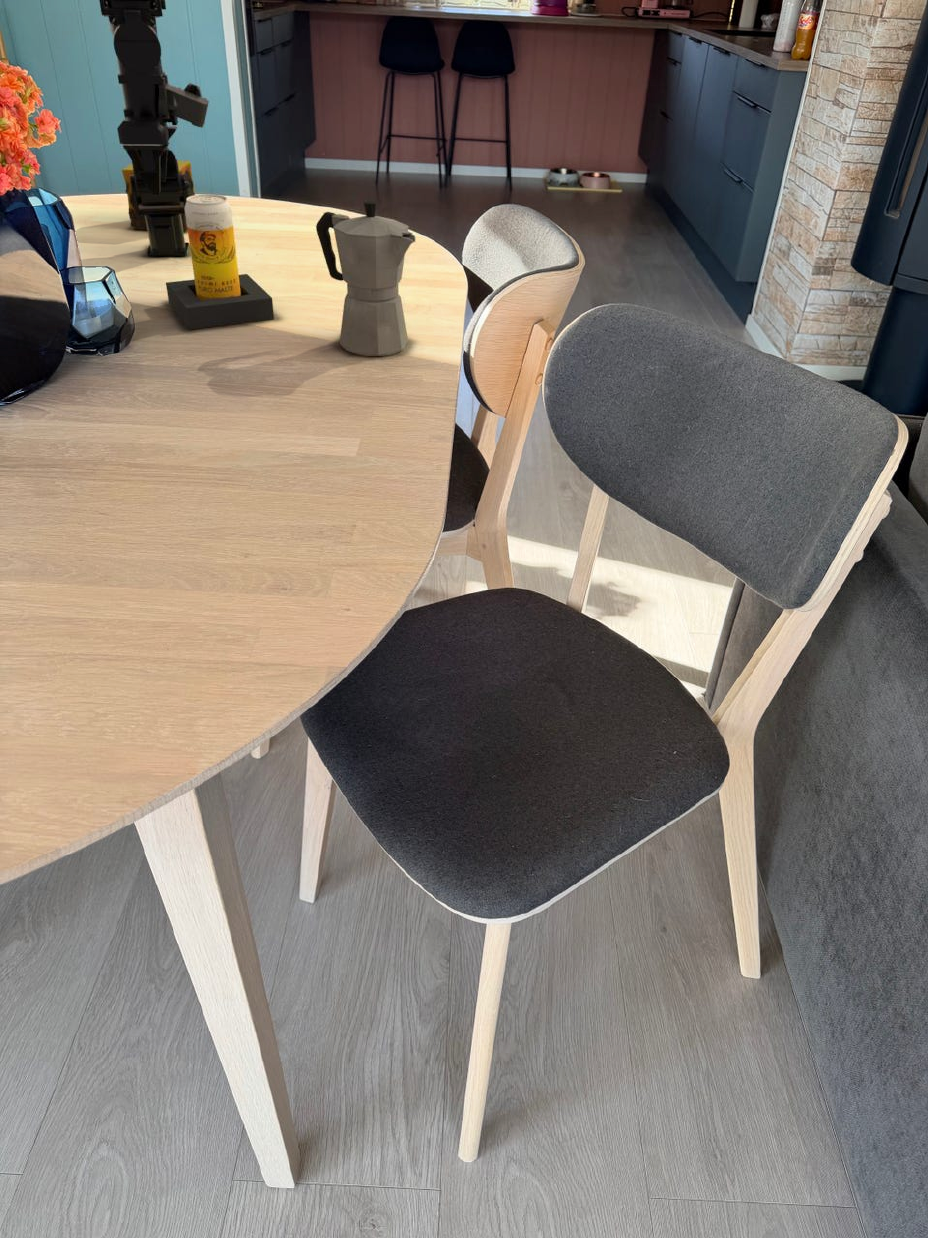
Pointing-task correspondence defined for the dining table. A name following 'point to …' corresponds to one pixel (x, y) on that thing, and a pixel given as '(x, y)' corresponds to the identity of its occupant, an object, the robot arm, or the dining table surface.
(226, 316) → the socket pad
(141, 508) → the dining table surface
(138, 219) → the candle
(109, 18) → the robot arm
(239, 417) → the dining table surface
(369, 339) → the coffeepot
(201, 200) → the beer can
